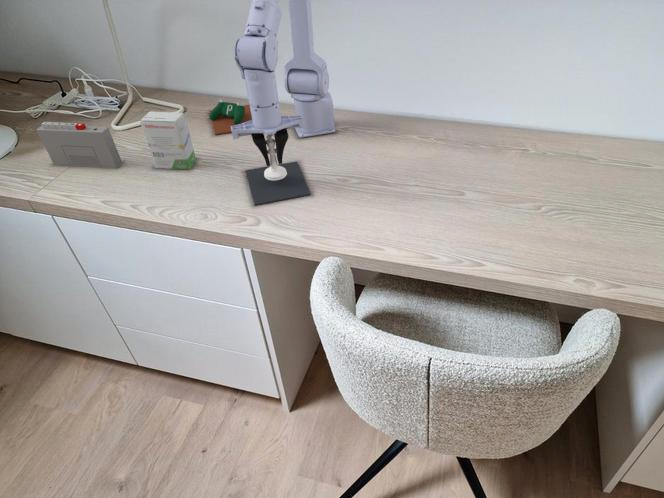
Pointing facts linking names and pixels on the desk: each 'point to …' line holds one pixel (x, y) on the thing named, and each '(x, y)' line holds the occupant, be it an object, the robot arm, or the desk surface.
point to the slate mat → (277, 185)
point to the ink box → (168, 140)
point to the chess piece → (273, 162)
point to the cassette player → (79, 145)
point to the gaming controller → (228, 111)
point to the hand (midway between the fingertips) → (273, 162)
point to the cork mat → (229, 122)
